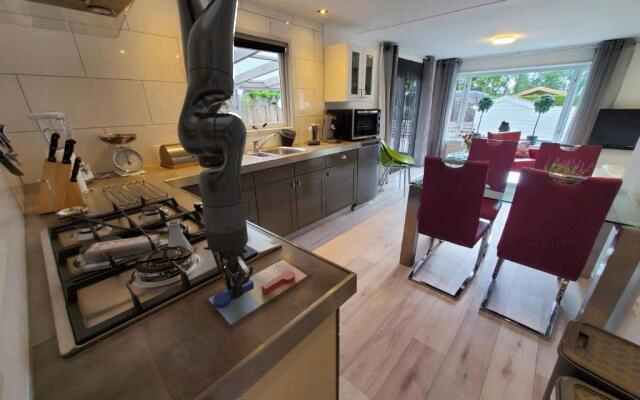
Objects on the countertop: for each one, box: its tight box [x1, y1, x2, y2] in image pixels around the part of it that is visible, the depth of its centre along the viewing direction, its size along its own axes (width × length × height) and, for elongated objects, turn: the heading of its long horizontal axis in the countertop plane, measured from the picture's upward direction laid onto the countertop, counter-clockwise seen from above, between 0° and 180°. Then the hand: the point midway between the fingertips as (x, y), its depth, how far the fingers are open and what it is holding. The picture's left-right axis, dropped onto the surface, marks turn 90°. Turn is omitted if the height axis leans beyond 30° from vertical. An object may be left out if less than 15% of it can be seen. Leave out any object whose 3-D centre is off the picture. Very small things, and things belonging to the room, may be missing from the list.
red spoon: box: [262, 271, 295, 295], centre depth 60 cm, size 9×3×2 cm, turn 137°
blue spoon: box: [213, 279, 254, 309], centre depth 54 cm, size 9×3×2 cm, turn 137°
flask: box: [166, 219, 194, 253], centre depth 71 cm, size 7×7×10 cm
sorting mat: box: [208, 259, 308, 326], centre depth 60 cm, size 21×10×1 cm, turn 137°
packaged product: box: [82, 234, 169, 273], centre depth 70 cm, size 18×5×10 cm
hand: (235, 294), depth 54 cm, fingers closed on blue spoon, 1 cm apart
